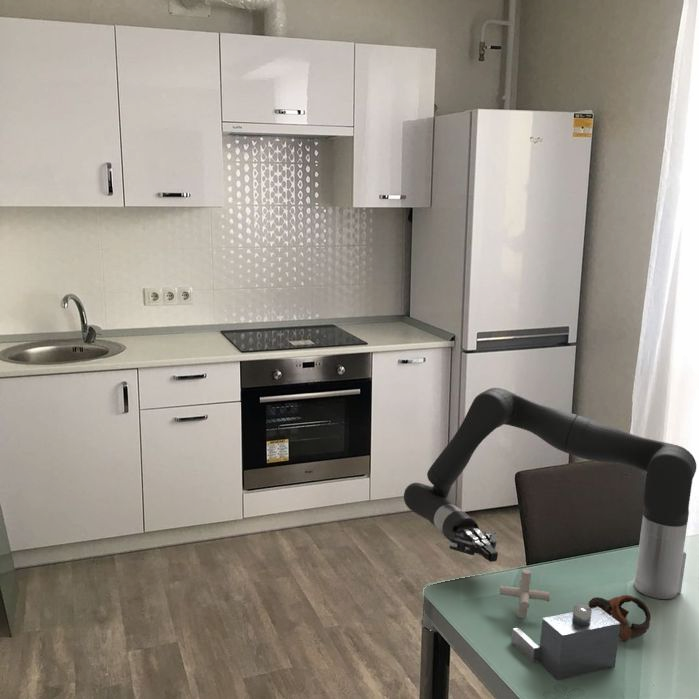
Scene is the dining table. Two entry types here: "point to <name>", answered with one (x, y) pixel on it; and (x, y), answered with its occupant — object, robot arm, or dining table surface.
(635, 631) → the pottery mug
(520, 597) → the pipe connector
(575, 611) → the grey boxy knob-topped device
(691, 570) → the dining table surface
